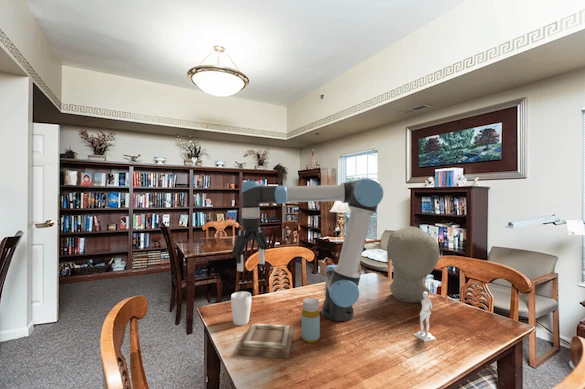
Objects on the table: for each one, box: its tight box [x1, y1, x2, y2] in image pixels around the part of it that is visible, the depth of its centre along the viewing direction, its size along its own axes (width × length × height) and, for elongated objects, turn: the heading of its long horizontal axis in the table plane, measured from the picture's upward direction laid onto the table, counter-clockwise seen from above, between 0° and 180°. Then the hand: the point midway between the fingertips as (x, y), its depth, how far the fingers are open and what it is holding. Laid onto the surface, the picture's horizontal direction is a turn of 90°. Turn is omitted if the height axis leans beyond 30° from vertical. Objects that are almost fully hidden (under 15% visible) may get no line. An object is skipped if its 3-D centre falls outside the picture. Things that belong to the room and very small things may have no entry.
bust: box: [386, 225, 440, 304], centre depth 146 cm, size 25×28×40 cm
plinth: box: [237, 322, 295, 360], centre depth 105 cm, size 18×18×4 cm
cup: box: [230, 291, 252, 326], centre depth 123 cm, size 9×9×12 cm
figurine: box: [413, 292, 436, 343], centre depth 111 cm, size 8×7×18 cm
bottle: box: [301, 297, 321, 344], centre depth 109 cm, size 7×7×15 cm
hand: (251, 267), depth 119 cm, fingers open, 13 cm apart
